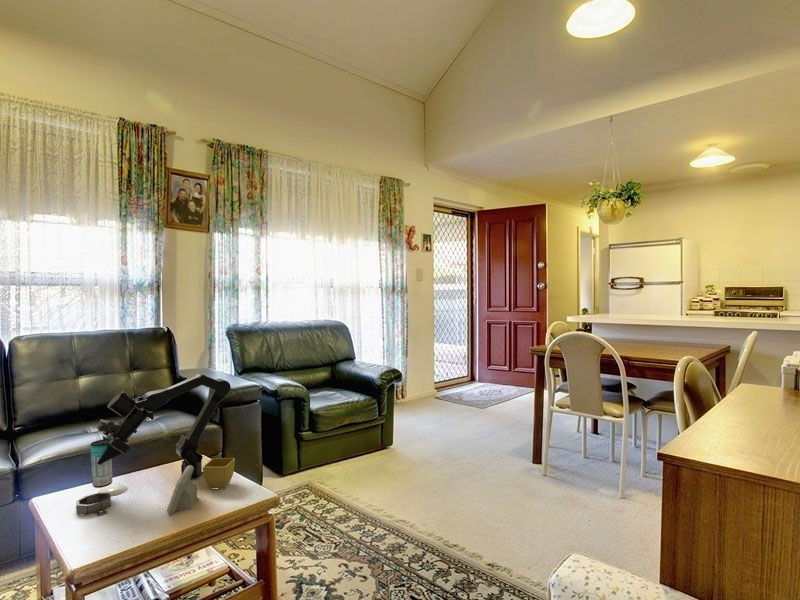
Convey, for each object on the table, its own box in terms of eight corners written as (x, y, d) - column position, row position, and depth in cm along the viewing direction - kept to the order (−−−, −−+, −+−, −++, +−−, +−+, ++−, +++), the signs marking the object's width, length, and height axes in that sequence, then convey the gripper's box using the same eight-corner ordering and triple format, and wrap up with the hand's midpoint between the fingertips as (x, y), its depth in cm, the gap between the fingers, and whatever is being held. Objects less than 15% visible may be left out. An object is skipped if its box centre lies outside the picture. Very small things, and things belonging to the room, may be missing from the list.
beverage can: (111, 479, 168) (109, 438, 167) (113, 485, 163) (111, 442, 163) (91, 484, 164) (89, 441, 164) (93, 490, 160) (91, 446, 159)
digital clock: (179, 494, 166) (179, 464, 166) (205, 493, 167) (204, 463, 166) (156, 516, 150) (156, 483, 150) (185, 515, 150) (184, 482, 150)
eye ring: (124, 502, 160) (124, 493, 160) (102, 516, 151) (101, 507, 150) (86, 500, 163) (85, 491, 162) (61, 513, 153) (61, 504, 153)
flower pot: (226, 491, 168) (226, 466, 168) (202, 491, 168) (201, 466, 168) (236, 481, 177) (235, 457, 176) (212, 481, 177) (212, 458, 177)
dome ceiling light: (132, 486, 174) (132, 484, 174) (114, 497, 165) (114, 495, 165) (110, 485, 175) (110, 483, 175) (91, 495, 166) (91, 493, 166)
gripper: (108, 405, 173) (73, 442, 166) (116, 415, 158) (79, 456, 152) (133, 422, 178) (100, 459, 171) (144, 433, 164) (109, 473, 157)
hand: (97, 461), depth 163 cm, fingers closed on beverage can, 6 cm apart
